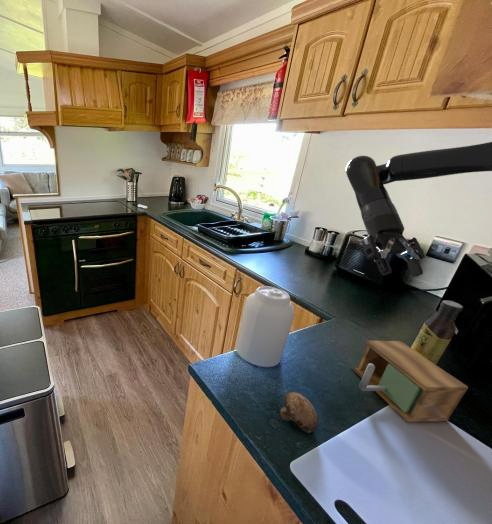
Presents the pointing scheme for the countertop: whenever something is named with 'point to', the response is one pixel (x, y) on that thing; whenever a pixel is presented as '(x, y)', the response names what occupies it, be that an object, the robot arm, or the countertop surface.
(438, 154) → the robot arm
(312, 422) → the mushroom
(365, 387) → the door
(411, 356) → the cupboard
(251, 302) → the can
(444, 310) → the sauce bottle
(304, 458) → the countertop surface
